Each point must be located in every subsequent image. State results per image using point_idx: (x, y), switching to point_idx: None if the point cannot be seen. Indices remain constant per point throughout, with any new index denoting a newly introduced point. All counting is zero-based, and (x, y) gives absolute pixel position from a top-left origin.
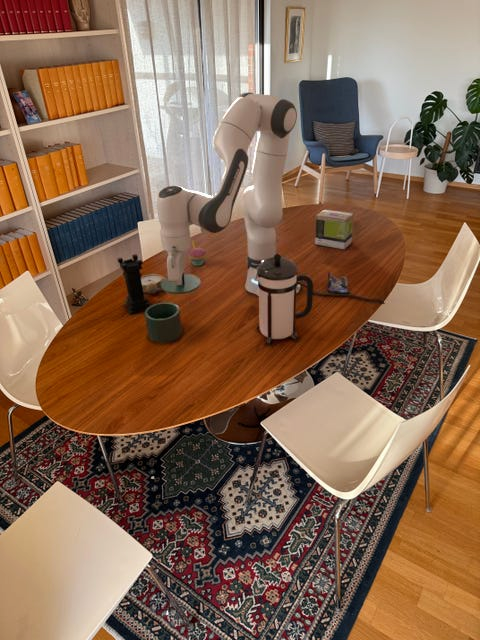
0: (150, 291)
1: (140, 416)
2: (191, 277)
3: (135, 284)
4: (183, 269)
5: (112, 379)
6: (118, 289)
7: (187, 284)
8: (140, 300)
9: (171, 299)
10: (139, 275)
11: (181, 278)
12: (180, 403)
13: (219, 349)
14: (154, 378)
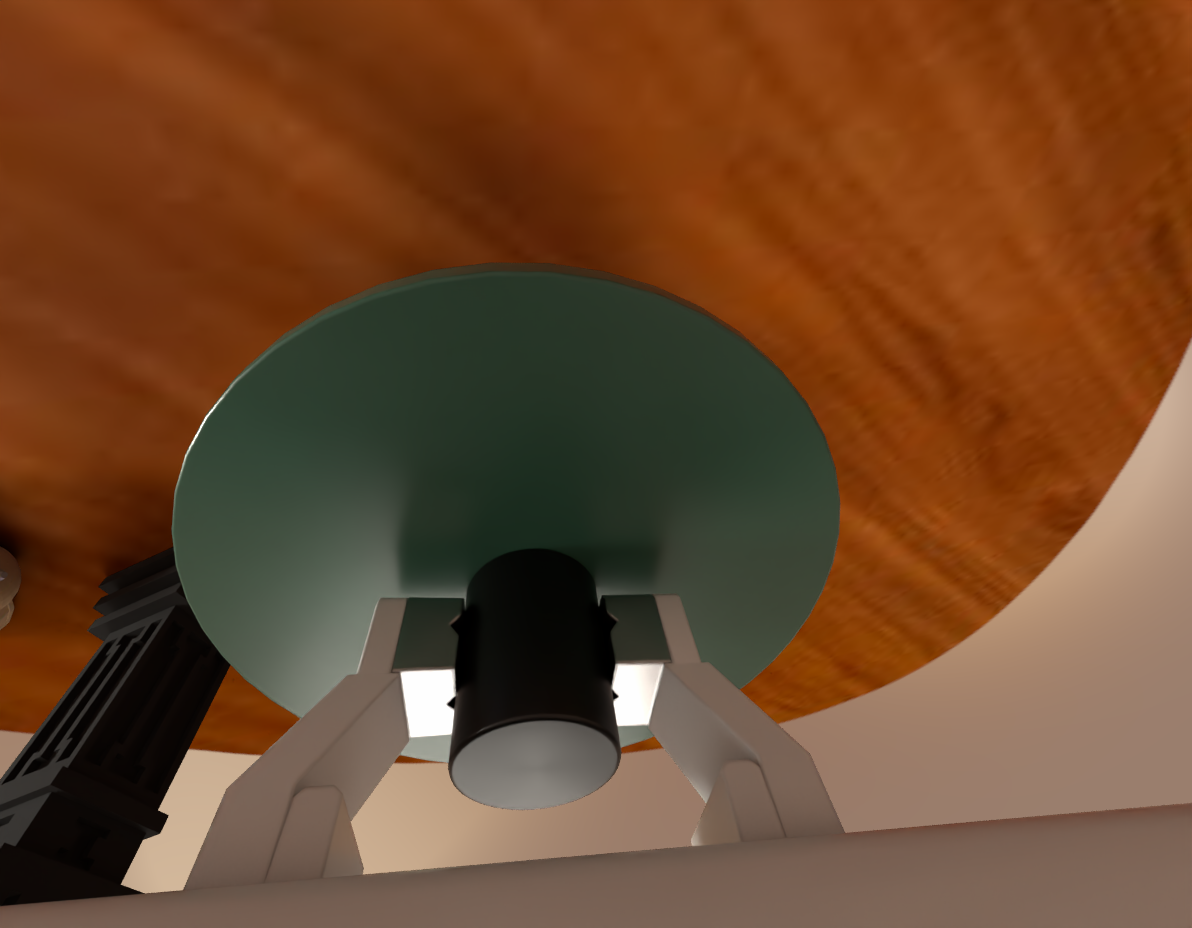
0: (10, 579)
1: (1081, 444)
2: (309, 466)
3: (139, 737)
4: (828, 914)
5: None
6: (32, 703)
7: (601, 504)
8: None
9: (30, 435)
10: (70, 791)
11: (749, 703)
12: (1111, 290)
13: (727, 22)
14: (873, 426)
